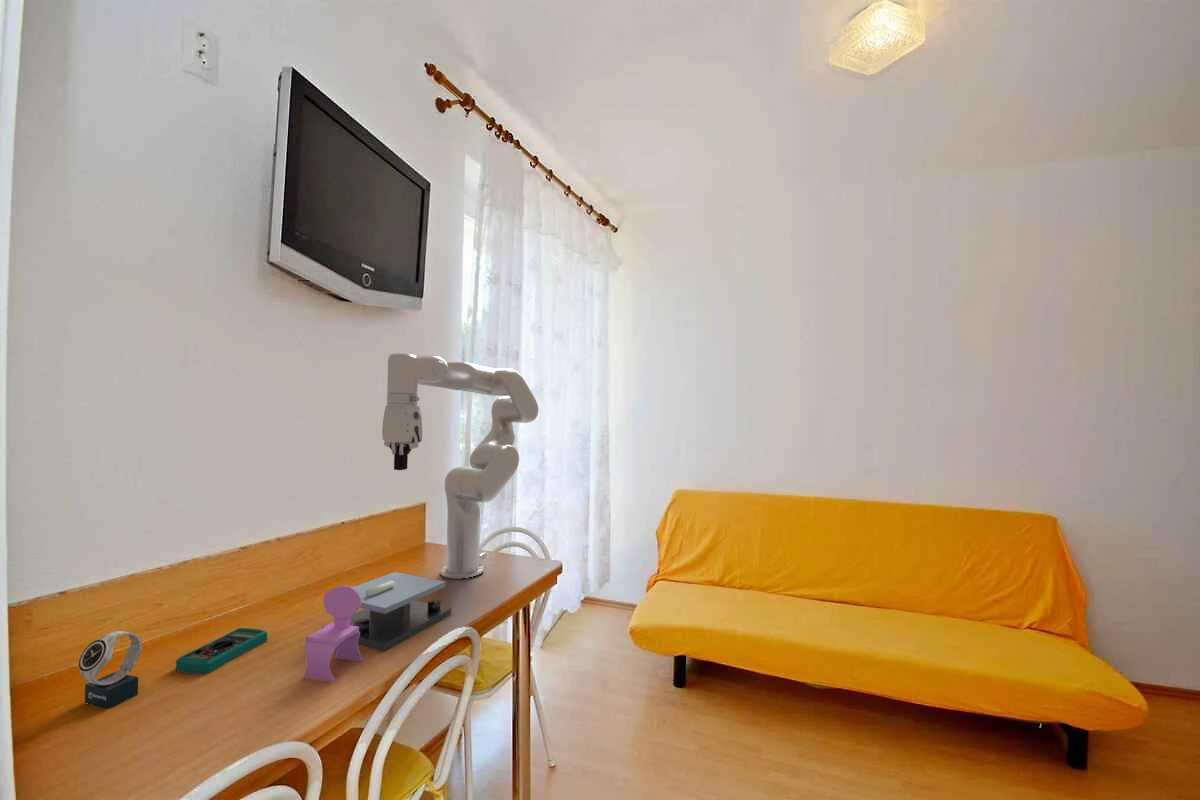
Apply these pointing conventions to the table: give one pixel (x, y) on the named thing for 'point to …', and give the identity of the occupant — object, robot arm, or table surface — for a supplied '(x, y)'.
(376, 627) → the leveling stand
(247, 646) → the digital multimeter
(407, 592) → the plate
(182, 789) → the table surface
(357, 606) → the toy chair
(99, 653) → the watch
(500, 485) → the robot arm
